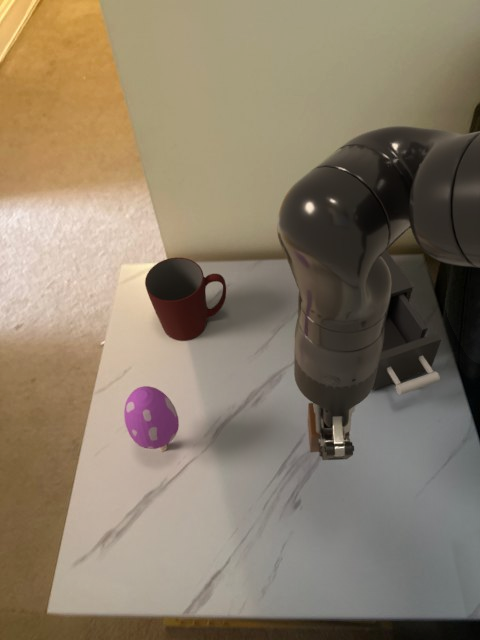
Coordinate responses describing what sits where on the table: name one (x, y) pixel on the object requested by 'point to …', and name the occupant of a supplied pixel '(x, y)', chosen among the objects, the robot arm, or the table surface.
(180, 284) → the mug
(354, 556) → the table surface
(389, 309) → the drawer
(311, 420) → the block
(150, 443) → the toy
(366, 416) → the table surface
